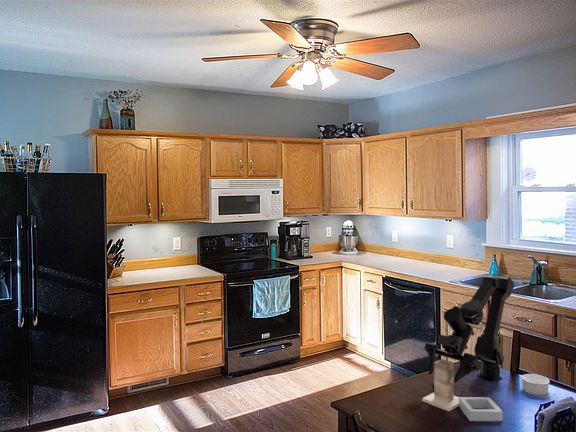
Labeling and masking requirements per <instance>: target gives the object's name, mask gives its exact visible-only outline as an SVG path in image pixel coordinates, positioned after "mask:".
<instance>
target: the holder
mask: <svg viewBox="0 0 576 432" xmlns="http://www.w3.org/2000/svg"><path fill="white" fill-rule="evenodd" d="M458 397H459V406H458V407H459V409H460V410H461V411H462V412H463V414H464V415H465V416H466V418H467V419H468V420H469V421H470V422H503V421H504V420H503V418H504V411H503V410H502V409H501V408H500V407H499V406H498V405H497V404H496V402H495V401H494V400H492V398H490V397H488V396H483V397H482V396H479V397H478V396H475V397H474V396H470V397H469V396H467V397H466V396H462V397H461V396H458Z"/></svg>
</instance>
